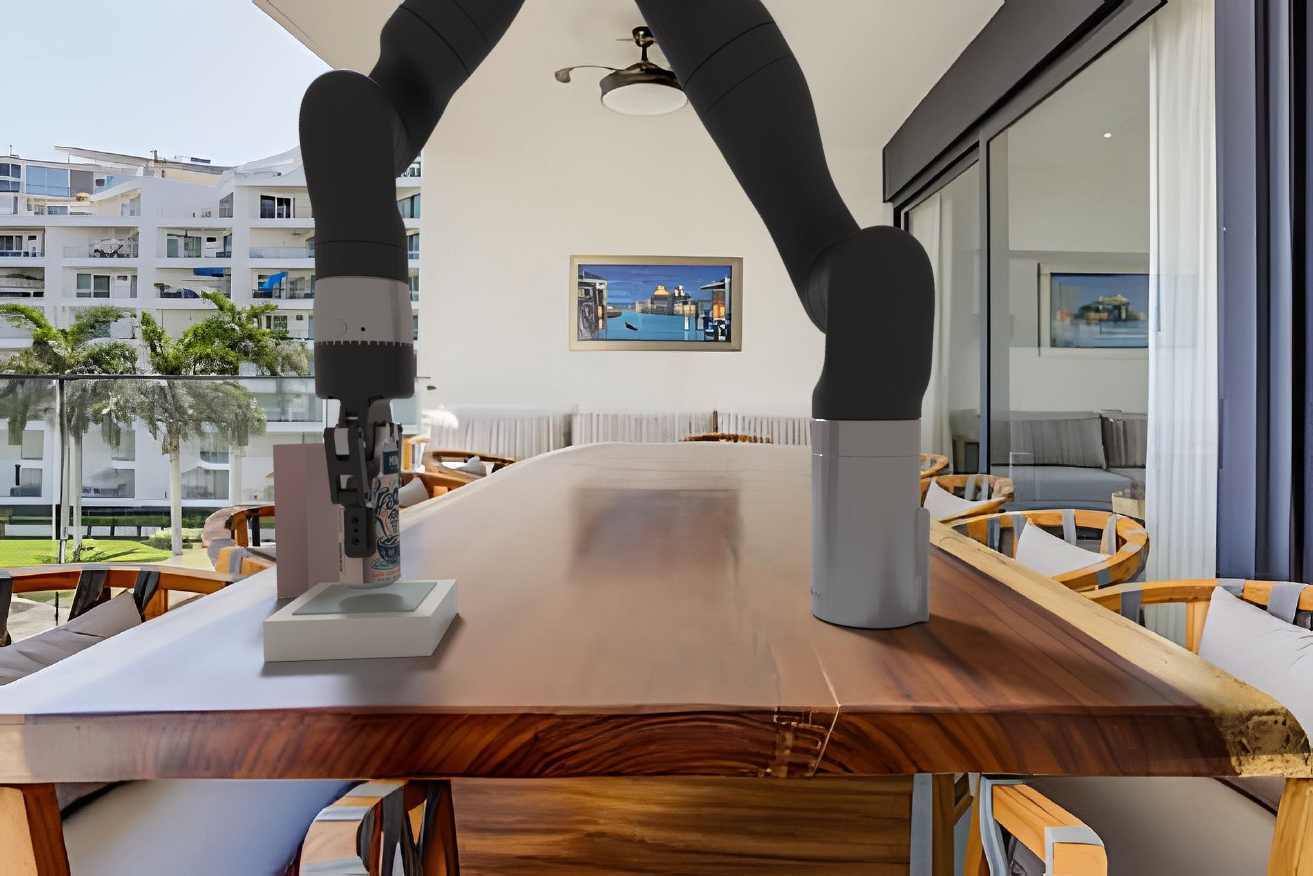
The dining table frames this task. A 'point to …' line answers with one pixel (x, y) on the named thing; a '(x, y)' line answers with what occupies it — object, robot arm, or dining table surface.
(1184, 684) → the dining table surface
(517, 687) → the dining table surface
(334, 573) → the greeting card
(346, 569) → the beer can
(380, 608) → the picture frame
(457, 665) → the dining table surface
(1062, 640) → the dining table surface
